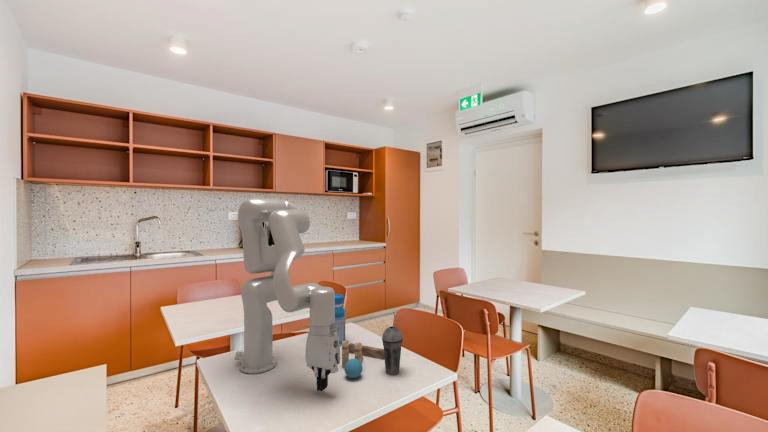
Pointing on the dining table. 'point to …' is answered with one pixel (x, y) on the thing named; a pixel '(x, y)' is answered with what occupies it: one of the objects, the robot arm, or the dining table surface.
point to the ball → (353, 368)
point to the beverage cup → (392, 349)
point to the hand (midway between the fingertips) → (322, 388)
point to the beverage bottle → (340, 317)
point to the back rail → (368, 351)
